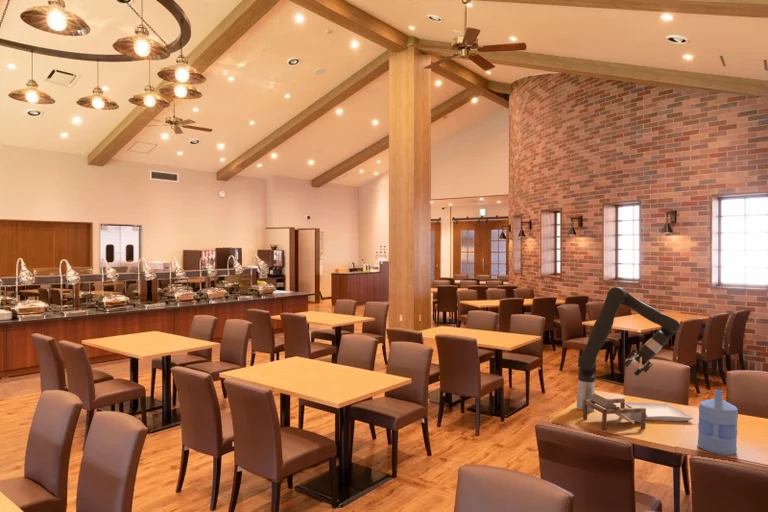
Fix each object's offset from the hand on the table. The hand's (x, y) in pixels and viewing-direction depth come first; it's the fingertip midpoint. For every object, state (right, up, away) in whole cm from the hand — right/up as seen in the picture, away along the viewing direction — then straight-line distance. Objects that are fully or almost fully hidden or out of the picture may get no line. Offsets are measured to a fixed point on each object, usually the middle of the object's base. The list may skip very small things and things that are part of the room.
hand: (630, 370), depth 287 cm
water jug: (+23, -29, -39) cm, 54 cm away
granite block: (-3, -23, -3) cm, 23 cm away
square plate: (+21, -29, +12) cm, 37 cm away
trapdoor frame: (-11, -28, -5) cm, 30 cm away
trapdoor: (-13, -21, -5) cm, 26 cm away
